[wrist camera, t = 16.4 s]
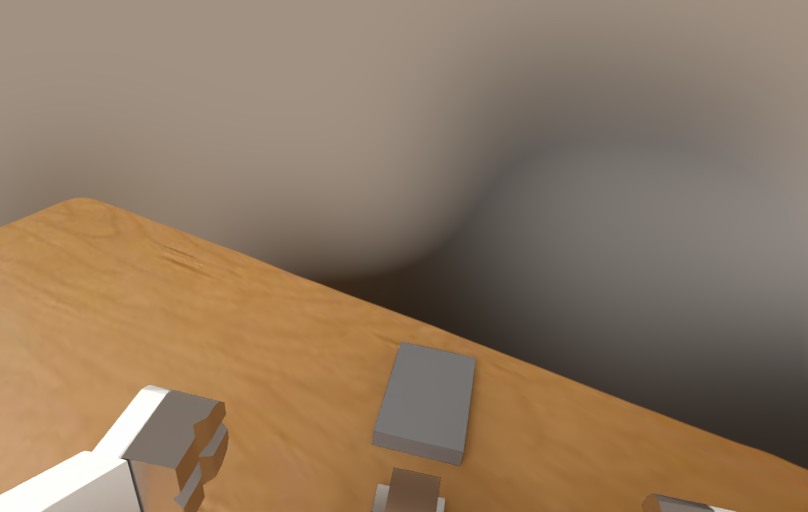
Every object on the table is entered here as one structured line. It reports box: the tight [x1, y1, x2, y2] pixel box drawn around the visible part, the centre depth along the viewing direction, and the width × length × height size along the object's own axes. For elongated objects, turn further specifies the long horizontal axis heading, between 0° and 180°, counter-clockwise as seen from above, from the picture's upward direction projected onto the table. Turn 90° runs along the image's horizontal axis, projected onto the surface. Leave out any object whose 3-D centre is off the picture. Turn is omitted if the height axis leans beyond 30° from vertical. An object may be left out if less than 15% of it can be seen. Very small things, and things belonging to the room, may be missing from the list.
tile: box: [372, 342, 476, 466], centre depth 53 cm, size 2×8×12 cm
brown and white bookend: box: [372, 468, 445, 512], centre depth 37 cm, size 10×6×13 cm, turn 170°
